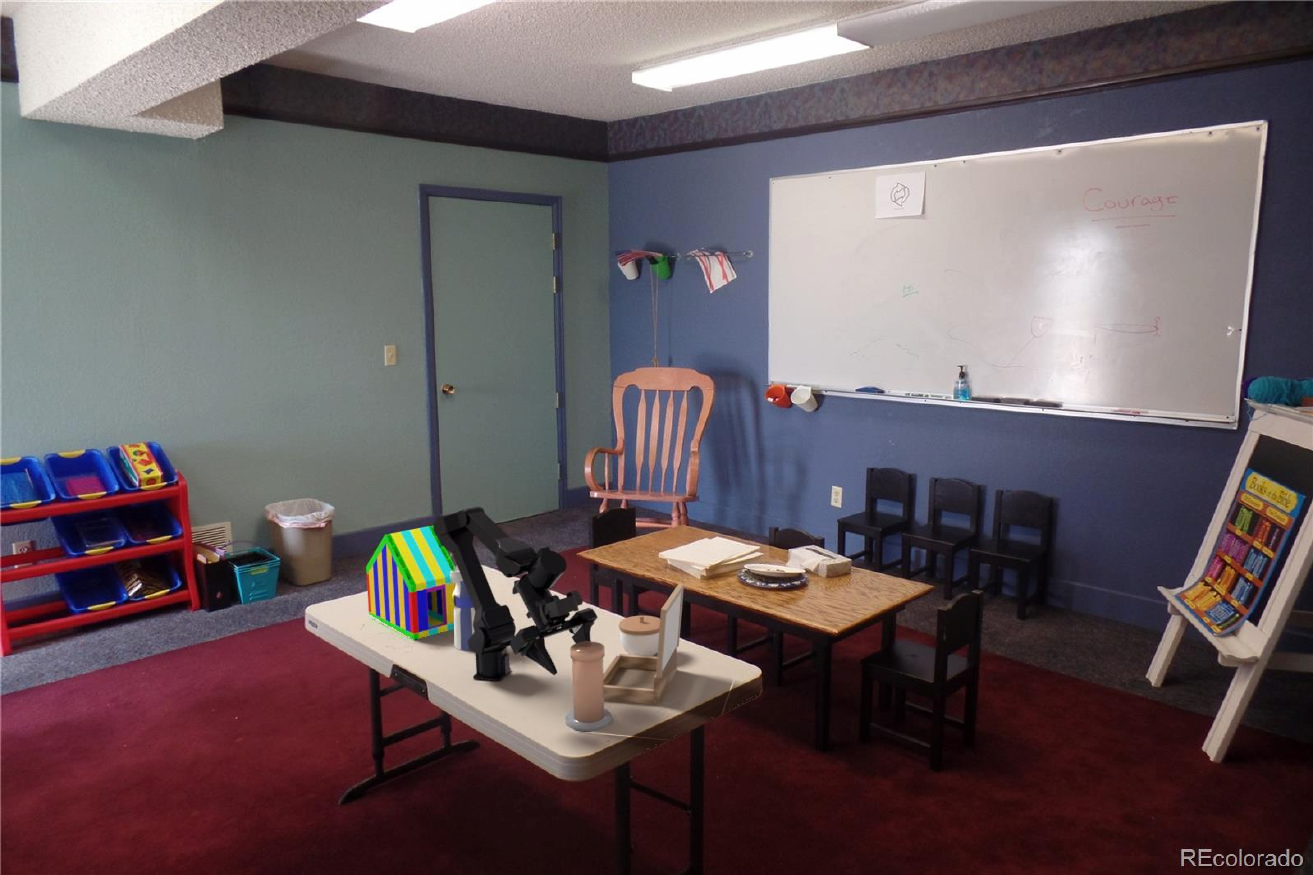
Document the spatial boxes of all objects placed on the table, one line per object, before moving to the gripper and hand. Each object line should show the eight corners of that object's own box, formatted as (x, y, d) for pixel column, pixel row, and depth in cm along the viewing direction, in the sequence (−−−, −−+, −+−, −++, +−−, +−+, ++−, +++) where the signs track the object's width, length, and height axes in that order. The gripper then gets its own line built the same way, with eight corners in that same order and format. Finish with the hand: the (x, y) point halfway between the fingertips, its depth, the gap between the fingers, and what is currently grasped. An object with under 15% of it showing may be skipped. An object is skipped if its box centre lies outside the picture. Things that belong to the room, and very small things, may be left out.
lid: (655, 677, 176) (654, 609, 175) (674, 645, 194) (673, 582, 192) (666, 678, 176) (665, 609, 174) (684, 645, 194) (683, 582, 192)
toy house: (369, 618, 233) (363, 526, 230) (415, 606, 242) (410, 518, 239) (414, 640, 216) (408, 542, 213) (461, 627, 225) (457, 532, 222)
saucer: (559, 729, 168) (559, 724, 167) (574, 709, 176) (573, 704, 176) (604, 733, 166) (603, 729, 165) (616, 713, 174) (616, 708, 174)
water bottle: (448, 651, 208) (443, 549, 205) (456, 638, 217) (452, 540, 213) (482, 651, 208) (478, 549, 205) (489, 638, 217) (485, 540, 213)
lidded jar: (639, 643, 212) (639, 605, 211) (674, 653, 205) (673, 614, 204) (610, 656, 204) (609, 617, 203) (644, 667, 197) (644, 627, 196)
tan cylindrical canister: (565, 716, 171) (563, 648, 169) (589, 705, 176) (588, 638, 174) (588, 726, 166) (586, 656, 164) (612, 715, 171) (611, 646, 169)
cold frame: (593, 699, 180) (592, 672, 180) (616, 666, 198) (616, 641, 197) (658, 705, 177) (658, 677, 177) (676, 671, 195) (676, 645, 194)
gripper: (517, 590, 167) (554, 661, 161) (591, 569, 180) (628, 634, 174) (495, 619, 174) (529, 688, 168) (567, 597, 187) (602, 661, 181)
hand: (574, 667), depth 172 cm, fingers open, 9 cm apart
